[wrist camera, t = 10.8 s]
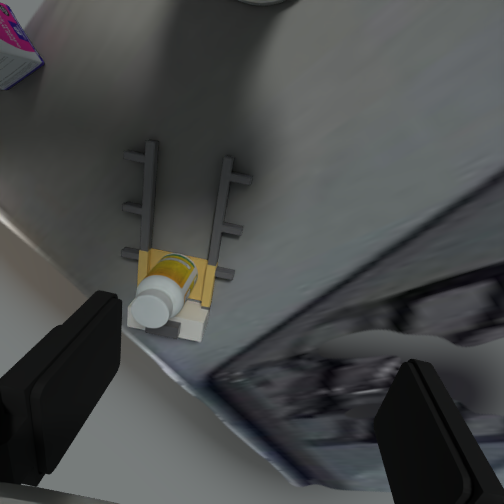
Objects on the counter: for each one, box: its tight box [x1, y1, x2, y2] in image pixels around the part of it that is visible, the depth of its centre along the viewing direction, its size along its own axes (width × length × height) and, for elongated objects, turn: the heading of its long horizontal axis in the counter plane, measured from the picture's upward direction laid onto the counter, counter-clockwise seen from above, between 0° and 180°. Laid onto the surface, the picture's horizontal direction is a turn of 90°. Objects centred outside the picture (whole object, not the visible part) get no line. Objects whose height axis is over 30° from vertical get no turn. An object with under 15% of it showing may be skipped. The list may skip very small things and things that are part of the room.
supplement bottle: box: [131, 253, 198, 328], centre depth 37 cm, size 5×5×10 cm
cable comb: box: [121, 140, 253, 342], centre depth 38 cm, size 22×14×5 cm, turn 169°
